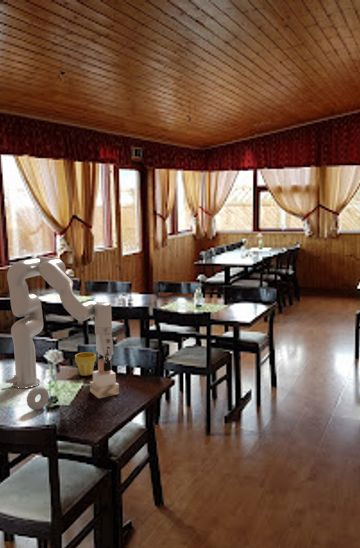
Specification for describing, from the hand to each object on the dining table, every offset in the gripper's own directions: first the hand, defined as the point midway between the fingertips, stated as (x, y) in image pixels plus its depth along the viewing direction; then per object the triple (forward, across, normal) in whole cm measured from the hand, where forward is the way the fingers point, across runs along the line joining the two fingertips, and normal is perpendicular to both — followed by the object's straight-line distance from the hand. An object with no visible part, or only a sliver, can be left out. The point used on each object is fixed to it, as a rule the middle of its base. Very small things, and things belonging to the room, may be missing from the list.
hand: (104, 368), depth 249 cm
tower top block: (+7, 0, 0) cm, 7 cm away
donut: (+12, -4, +32) cm, 34 cm away
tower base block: (+12, 0, 0) cm, 12 cm away
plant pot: (+12, +30, -2) cm, 32 cm away
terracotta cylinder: (+1, 0, 0) cm, 1 cm away
